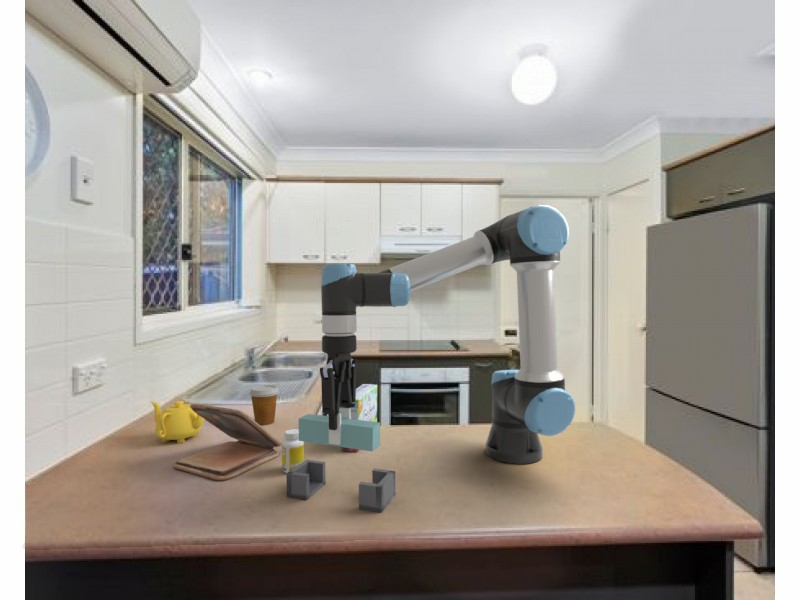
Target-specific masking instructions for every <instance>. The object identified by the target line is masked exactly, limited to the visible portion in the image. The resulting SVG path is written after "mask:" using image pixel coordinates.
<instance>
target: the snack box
mask: <svg viewBox="0 0 800 600" xmlns="http://www.w3.org/2000/svg"><path fill="white" fill-rule="evenodd" d="M353 403H354V404H355V407H350V408H351V419H356V420H364V421H372V422H378V384H373V383H362V384H361V385H359V386H358V387H356V401H355V402H353ZM340 450H341V452H342V451H343V452H351V453H352V452H353V453H358V452H359V451H360V450H359V449H352V448H345V447H340Z"/></svg>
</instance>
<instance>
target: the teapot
mask: <svg viewBox="0 0 800 600" xmlns="http://www.w3.org/2000/svg"><path fill="white" fill-rule="evenodd" d="M150 403H151V404H152V406H153V407H154V417H153V418H154V422H155V423H156V424H155V429H154V430H155V434H156V435H157V437H158V438H160V439H161V441H160V443H168V442H170V441H173V440H174V441H175V440H176V444H178V445H180V444H184V443H186V439H187V438H197V437H198V434H199V432H200V431H201V430H202V429H203V426H204V425H203V424H204V421H205V419H204V418H202V417H201V416H199V415H198V414H197V413H195V412H194V411H193V410H192V409H191V408H190V405H191V404H192V403H184V401H183V400H182V401H181V400H177V401H175V402H174V403H173V405H169V406H166V407H165V408H164V409H163V410H162V409H161V407H160V404H159V403H158V402H156V401H154V400H153V401H150Z"/></svg>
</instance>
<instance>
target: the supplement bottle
mask: <svg viewBox="0 0 800 600" xmlns="http://www.w3.org/2000/svg"><path fill="white" fill-rule="evenodd" d="M304 461H305V442H304V441H299V428H294V429H293V428H292V429H288V430H285V431H284V440H283V441H282V442H281V462H282V463H281V464H282V465H281V466H282V467H281V469H282V472H283V473H285V474H286V473H288V472H289V471H291V470H292V469H293V468H295V467H296V466H298V465H299V464H301V463H302V462H304Z"/></svg>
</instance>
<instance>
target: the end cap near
mask: <svg viewBox="0 0 800 600" xmlns="http://www.w3.org/2000/svg"><path fill="white" fill-rule="evenodd" d="M371 474H372V475H371V477H372V480H371V482H366V481H360V482H359V484H358V509H359V510H362V511H363V510H364V511H369V512H370V511H371V512H376V513H383V511H385V509H386V508H387V506H388V505H389V504H390V503H391V501H392V499H394V497H395V496H396V471H395V470H391V469H390V470H388V469H381V468H373V469H372V471H371Z"/></svg>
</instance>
